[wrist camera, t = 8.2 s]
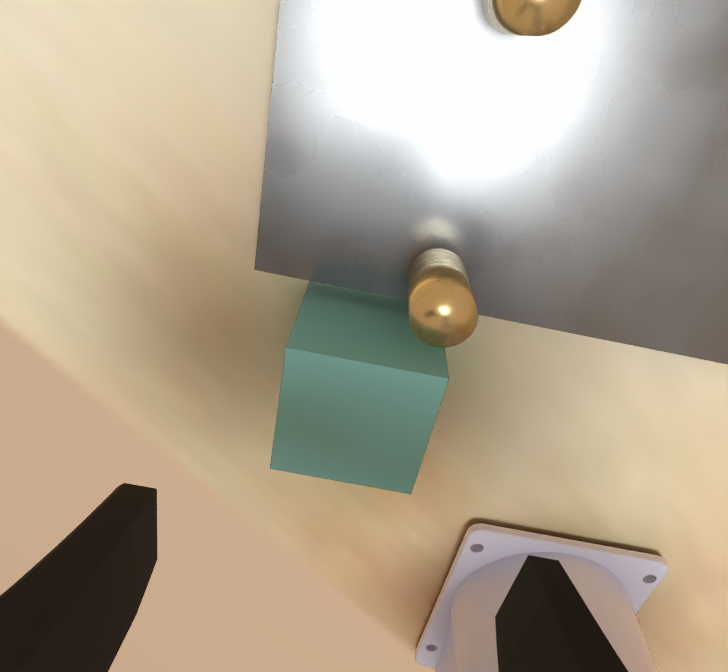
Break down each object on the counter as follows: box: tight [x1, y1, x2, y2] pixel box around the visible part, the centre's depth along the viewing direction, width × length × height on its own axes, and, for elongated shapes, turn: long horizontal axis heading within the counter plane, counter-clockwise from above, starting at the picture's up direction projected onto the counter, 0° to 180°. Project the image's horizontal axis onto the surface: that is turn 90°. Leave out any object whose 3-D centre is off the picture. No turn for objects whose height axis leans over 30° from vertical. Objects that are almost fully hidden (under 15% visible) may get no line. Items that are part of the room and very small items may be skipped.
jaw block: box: [270, 281, 449, 494], centre depth 16 cm, size 4×4×4 cm
